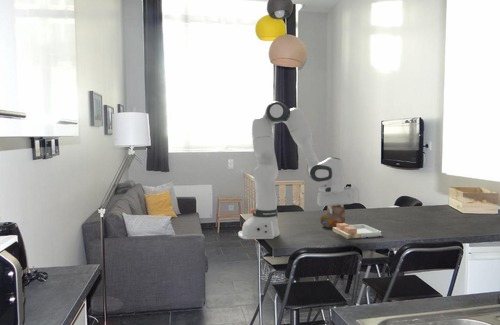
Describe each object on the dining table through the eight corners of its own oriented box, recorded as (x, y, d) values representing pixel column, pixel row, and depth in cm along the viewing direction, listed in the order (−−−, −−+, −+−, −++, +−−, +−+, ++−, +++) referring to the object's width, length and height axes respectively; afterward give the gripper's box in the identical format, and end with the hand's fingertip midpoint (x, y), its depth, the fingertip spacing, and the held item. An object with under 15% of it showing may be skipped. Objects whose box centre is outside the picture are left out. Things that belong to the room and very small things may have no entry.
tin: (321, 227, 208) (321, 213, 207) (319, 226, 211) (319, 212, 210) (345, 226, 211) (345, 212, 210) (343, 225, 214) (343, 211, 213)
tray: (362, 237, 185) (362, 233, 185) (344, 229, 203) (344, 225, 203) (382, 236, 188) (382, 231, 188) (363, 228, 206) (363, 224, 206)
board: (347, 238, 184) (347, 234, 184) (332, 231, 200) (332, 227, 200) (360, 237, 186) (361, 233, 186) (345, 230, 202) (345, 226, 202)
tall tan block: (339, 221, 184) (339, 208, 183) (327, 216, 197) (327, 204, 197) (345, 221, 184) (344, 207, 184) (332, 216, 198) (332, 203, 197)
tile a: (340, 230, 194) (340, 225, 194) (336, 227, 199) (336, 223, 198) (349, 229, 195) (349, 225, 195) (344, 227, 200) (344, 222, 200)
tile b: (348, 233, 186) (348, 229, 186) (343, 231, 191) (343, 226, 191) (356, 233, 187) (357, 228, 187) (351, 230, 192) (352, 226, 192)
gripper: (349, 185, 195) (350, 210, 196) (315, 187, 190) (316, 213, 191) (356, 187, 189) (356, 212, 190) (320, 189, 184) (321, 215, 185)
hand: (335, 213), depth 191 cm, fingers closed on tall tan block, 3 cm apart
